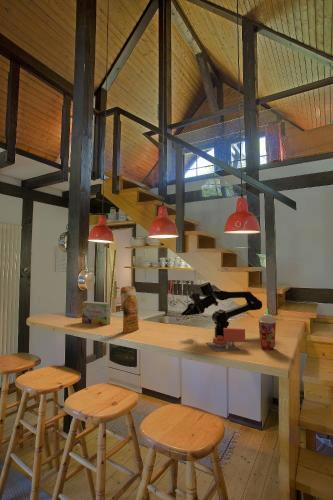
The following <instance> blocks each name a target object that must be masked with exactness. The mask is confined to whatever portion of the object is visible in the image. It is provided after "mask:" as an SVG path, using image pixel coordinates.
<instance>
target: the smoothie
mask: <svg viewBox="0 0 333 500" xmlns="http://www.w3.org/2000/svg"><path fill="white" fill-rule="evenodd" d="M265 309H266V310H265V312H266V313H263V314H262V315H260V316H259V319H258V329H259V342H260V346H261V349H263V350H265V349H268V350H267V351H272V350H271V349H273V350H274V348H275V347H276V346H275V345H276V332H277V331H276V330H277V329H276V328H277V321H276V319H275V318H274V316H273V315H271V314H270V313H269V312H268V311H269V310H268V308H265Z"/></svg>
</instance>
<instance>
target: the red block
mask: <svg viewBox="0 0 333 500" xmlns="http://www.w3.org/2000/svg"><path fill="white" fill-rule="evenodd" d="M227 341H229V342H232V341H234V342H246V329H245V328H236V327H235V328H234V327H233V328H232V327H227V328H224V337H223V336H221V335H218V336H216V337H215V338H213V339H212V342H213V343H215V344H226V343H227Z"/></svg>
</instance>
